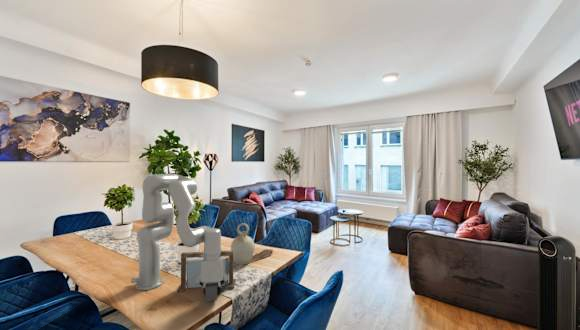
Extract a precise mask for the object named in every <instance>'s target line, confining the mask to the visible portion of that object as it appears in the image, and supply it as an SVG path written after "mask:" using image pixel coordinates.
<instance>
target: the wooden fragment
mask: <svg viewBox="0 0 580 330" xmlns="http://www.w3.org/2000/svg"><path fill="white" fill-rule="evenodd" d="M273 251H274V249H272V248H271V249H263V250H262V251H260V252H259V253H253V258H252V261H251V262H250V263H251V264H252V263H255V262H258V261H259V260H262V259H264V258H267V257H271V256H272V253H273Z"/></svg>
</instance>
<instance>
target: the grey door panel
mask: <svg viewBox="0 0 580 330" xmlns="http://www.w3.org/2000/svg"><path fill="white" fill-rule="evenodd" d="M203 259H204V258H199V259H195V258H194V259H186V282H187V286H186V289H188V288H189V289H190V288H191V289H193V288H203V287H202V286H201V285H200V284H199V283H198V282H196V279H197V278H198V276H199V275H200V272H201V263H202V260H203ZM222 259H223V266H224V272H225V273H226V274H227V275H228V277H229V257H222ZM223 279H224V277H223ZM222 286H223V287H224V286H229V278H228V280H227V281H225V282H224V283H223V284H222V285H221V287H222Z"/></svg>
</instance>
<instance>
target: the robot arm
mask: <svg viewBox="0 0 580 330" xmlns="http://www.w3.org/2000/svg"><path fill="white" fill-rule="evenodd" d="M141 187H142V194H143V200H142V201H143V202H142V210H141V212H142V213H141V219H142V222H143V223H145V224H147V225H144V226H142V227H141V228H139V229H138V230H137V233H136V240H137V245H138V276H132V277H131V278H130V283H131V284H132V283H133V284H134V283H136V284H135V285H134V288H135V290H137V291H141V292H142V291H149V290H153V289H155V288H158V287H159V286H161V285H162V284H163V283H164V278H163V277H160V276H161V249H160V247H159V245H158V244H157V242H158V241H161V240H164V239H167V238H169V237H170V236H171V235H172V233H173V228H174V217H175V211H174V210H175V209H174V206H175V208H176V211H177V212H178V214H177V218H176V228H175V229H176V232H177V235H178V237H179V239H180V241H181V243H182V244H183V245H184V247H187V248H192V247H193V248H194V247H196V246H198V245H201V244H203V252H204V253H203V254H201V257H200V258H202V259H203V260H202V263H201V272H200V275H199V276H198V278H197V279H196V282H198V283H199V284H200V285H201V286H202V287H201V288H203V289H202V290H203V292H202V294H203V295H205V287H206V285H207V283H210V282H217V283H218V287H217V296H218V297H219V296H220V294H221V293H222V286H221V285H222V284H223V283H224V282H225V281H227V280H228V278H229V277H228V275H227V274H226V273H225V272H224V266H223V259H222V258H223V256H221V251H222V230H221V229H219V228H216V227H215V228H214V227H213V228H212V227H210V226H208V225H202V226H198V227H195V228H192V229H191V227H190V224H189V216H190V214H191V213H192V212H193V211H194V210H195V209H196V208H197V207H196V206H197V204H196V202H195V200H194V199H193V196H192V195H195V194H196V193H197V191H198V185H197V183H196V182H195V180H193V179H191V178H188V177H186V176H183V175H182V174H178V173H158V174H157V173H156V174H151V175H148V176H146V177H145V178H144V179H143V181H142V186H141ZM161 191H168V193H169V195H170V197H171V200H172V202H173V203H174V206H173V205H172V204H171V203H169V202H162V201H163V195H162V193H161ZM223 277H224V279H223Z"/></svg>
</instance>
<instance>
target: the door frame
mask: <svg viewBox="0 0 580 330" xmlns="http://www.w3.org/2000/svg"><path fill="white" fill-rule="evenodd" d="M203 253H204V251H193V252H192V251H190V252H189V251H188V252H182V253H180V284H179V286H178V288H177V289H176V293H185V290H186V289H187V259H190V258H191V259H192V258H202V257H201V254H203ZM221 257H228V258H229V284H228V285H227V286H228V288H227V289H228V290H234V289H235V288H236V287H235V286H236V281H237V279H236V278H234V261H233V250H232V251H231V250H221Z"/></svg>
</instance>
